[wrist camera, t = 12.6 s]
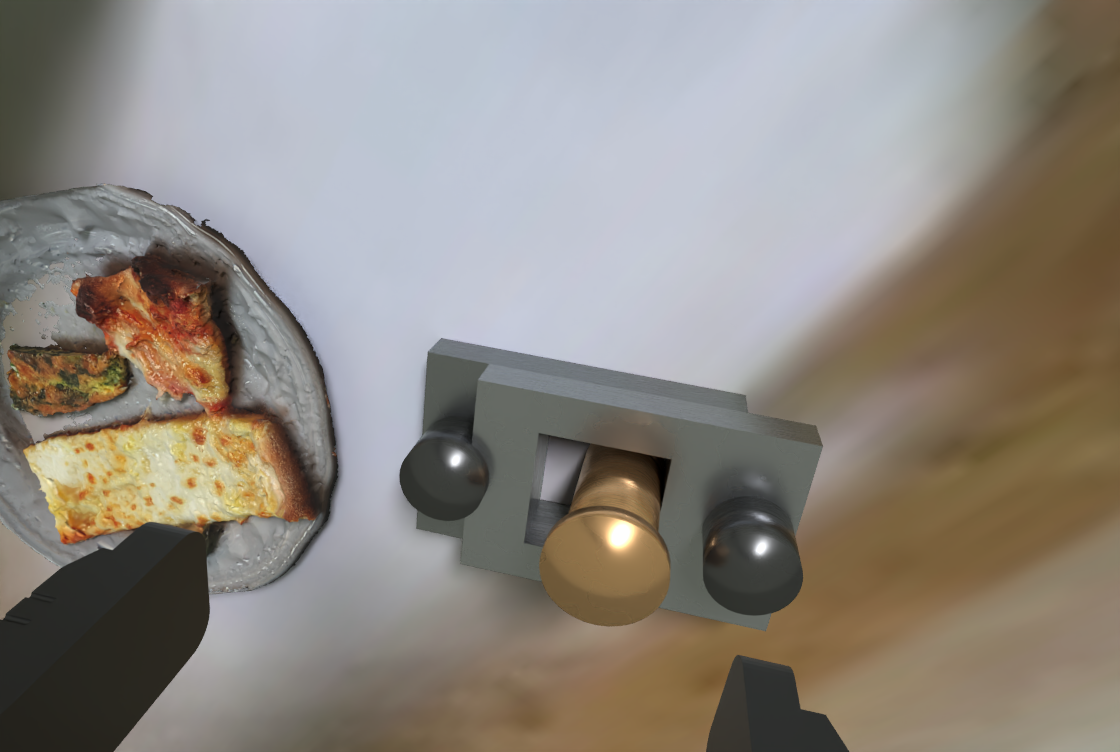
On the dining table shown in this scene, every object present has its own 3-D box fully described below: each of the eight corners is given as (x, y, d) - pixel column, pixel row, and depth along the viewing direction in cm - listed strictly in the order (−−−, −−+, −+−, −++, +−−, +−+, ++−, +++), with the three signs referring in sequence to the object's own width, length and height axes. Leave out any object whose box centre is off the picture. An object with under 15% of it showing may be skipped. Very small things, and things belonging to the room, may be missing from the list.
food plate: (281, 152, 34) (236, 161, 31) (397, 568, 43) (371, 608, 39) (-121, 218, 40) (-193, 231, 37) (50, 571, 49) (2, 607, 45)
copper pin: (567, 497, 39) (531, 610, 31) (581, 408, 37) (547, 504, 29) (665, 517, 38) (656, 638, 30) (685, 429, 36) (681, 532, 28)
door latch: (428, 508, 41) (378, 588, 34) (441, 338, 37) (387, 393, 30) (759, 578, 39) (771, 678, 32) (809, 407, 35) (835, 482, 28)
